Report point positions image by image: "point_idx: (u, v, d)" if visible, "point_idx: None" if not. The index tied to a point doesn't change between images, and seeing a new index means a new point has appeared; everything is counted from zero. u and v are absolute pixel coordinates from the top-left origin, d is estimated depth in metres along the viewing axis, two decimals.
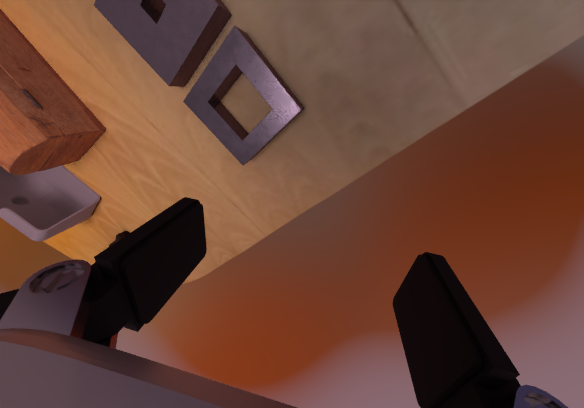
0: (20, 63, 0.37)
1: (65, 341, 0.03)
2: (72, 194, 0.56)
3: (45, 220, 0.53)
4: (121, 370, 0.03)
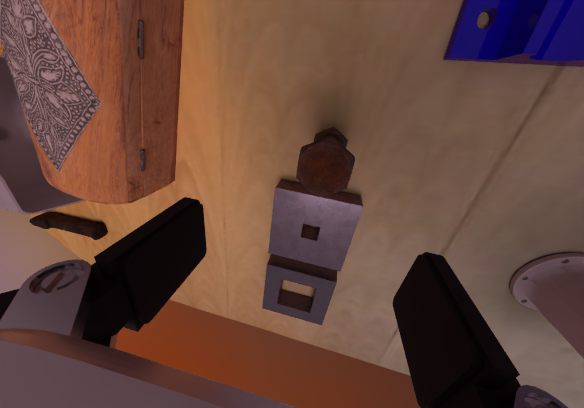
0: (158, 114, 0.32)
1: (65, 341, 0.03)
2: None
3: (18, 171, 0.41)
4: (121, 370, 0.03)
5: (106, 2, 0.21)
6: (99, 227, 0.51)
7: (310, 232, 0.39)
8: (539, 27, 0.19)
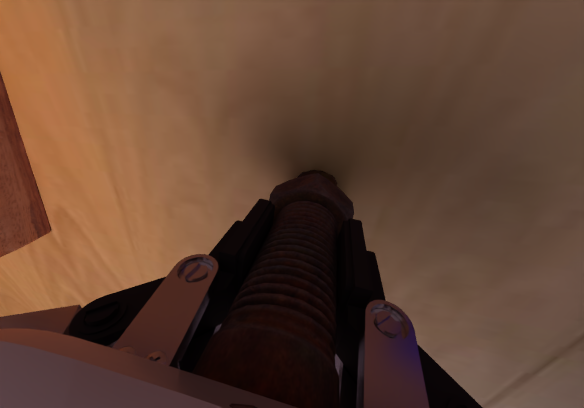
0: None
1: (65, 341, 0.03)
2: None
3: None
4: (122, 369, 0.03)
5: None
6: None
7: None
8: None
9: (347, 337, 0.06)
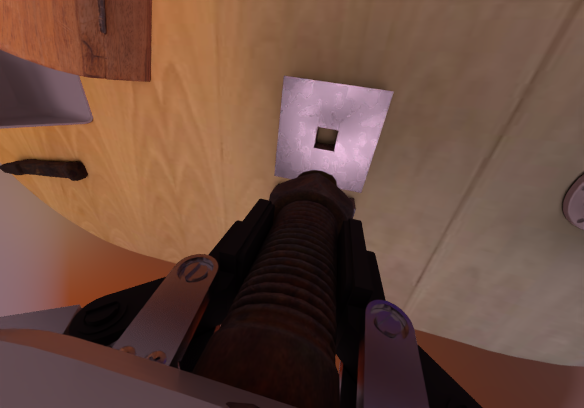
0: None
1: (65, 341, 0.03)
2: (48, 79, 0.38)
3: None
4: (121, 370, 0.03)
5: None
6: (76, 165, 0.44)
7: (324, 146, 0.32)
8: None
9: (347, 337, 0.06)
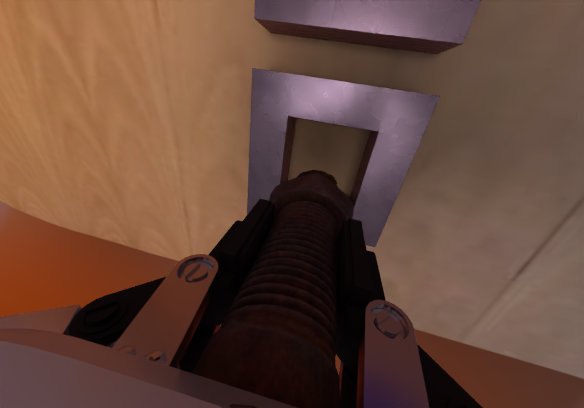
0: None
1: (65, 341, 0.03)
2: None
3: None
4: (120, 370, 0.03)
5: None
6: None
7: None
8: None
9: (347, 337, 0.06)
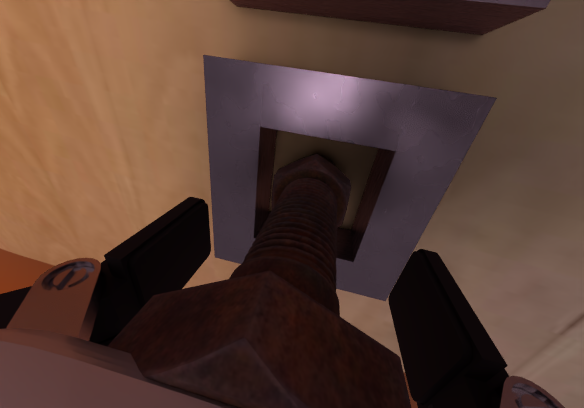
0: None
1: (65, 341, 0.03)
2: None
3: None
4: (121, 369, 0.03)
5: None
6: None
7: None
8: None
9: None
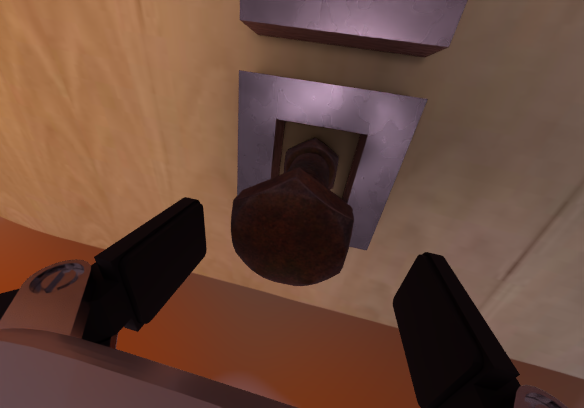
0: None
1: (65, 341, 0.03)
2: None
3: None
4: (121, 369, 0.03)
5: None
6: None
7: None
8: None
9: None
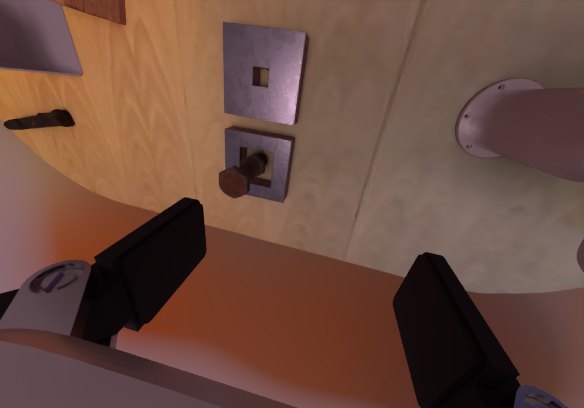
0: None
1: (65, 341, 0.03)
2: (45, 36, 0.45)
3: None
4: (121, 370, 0.03)
5: None
6: (63, 113, 0.52)
7: None
8: None
9: None
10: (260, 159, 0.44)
